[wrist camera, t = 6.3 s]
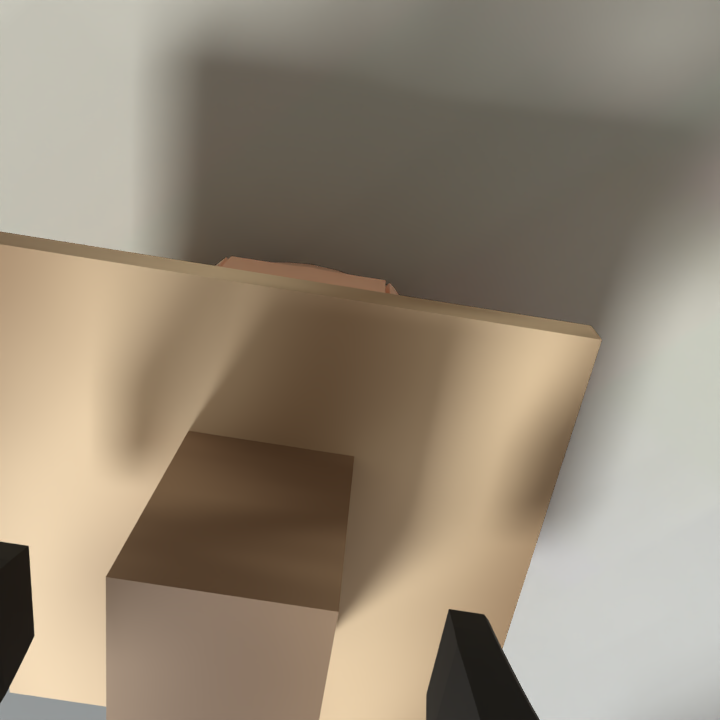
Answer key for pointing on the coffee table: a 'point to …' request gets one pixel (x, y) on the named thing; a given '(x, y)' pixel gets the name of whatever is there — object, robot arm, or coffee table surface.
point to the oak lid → (265, 480)
